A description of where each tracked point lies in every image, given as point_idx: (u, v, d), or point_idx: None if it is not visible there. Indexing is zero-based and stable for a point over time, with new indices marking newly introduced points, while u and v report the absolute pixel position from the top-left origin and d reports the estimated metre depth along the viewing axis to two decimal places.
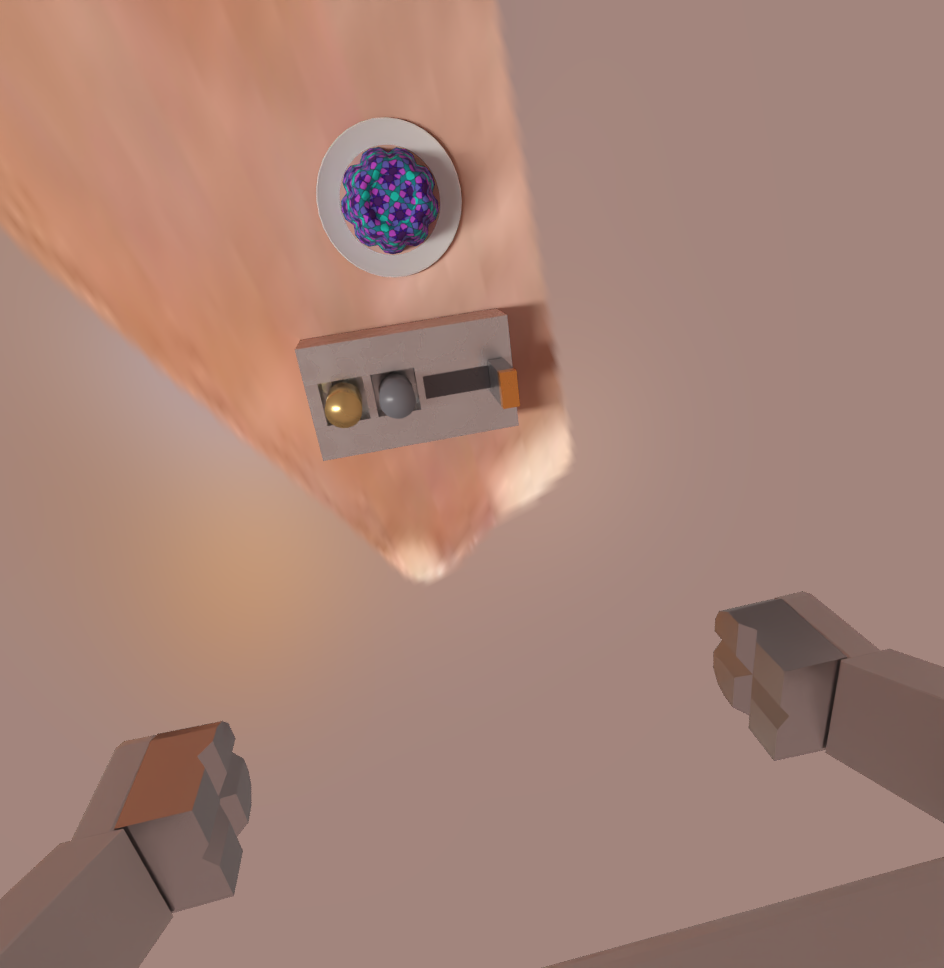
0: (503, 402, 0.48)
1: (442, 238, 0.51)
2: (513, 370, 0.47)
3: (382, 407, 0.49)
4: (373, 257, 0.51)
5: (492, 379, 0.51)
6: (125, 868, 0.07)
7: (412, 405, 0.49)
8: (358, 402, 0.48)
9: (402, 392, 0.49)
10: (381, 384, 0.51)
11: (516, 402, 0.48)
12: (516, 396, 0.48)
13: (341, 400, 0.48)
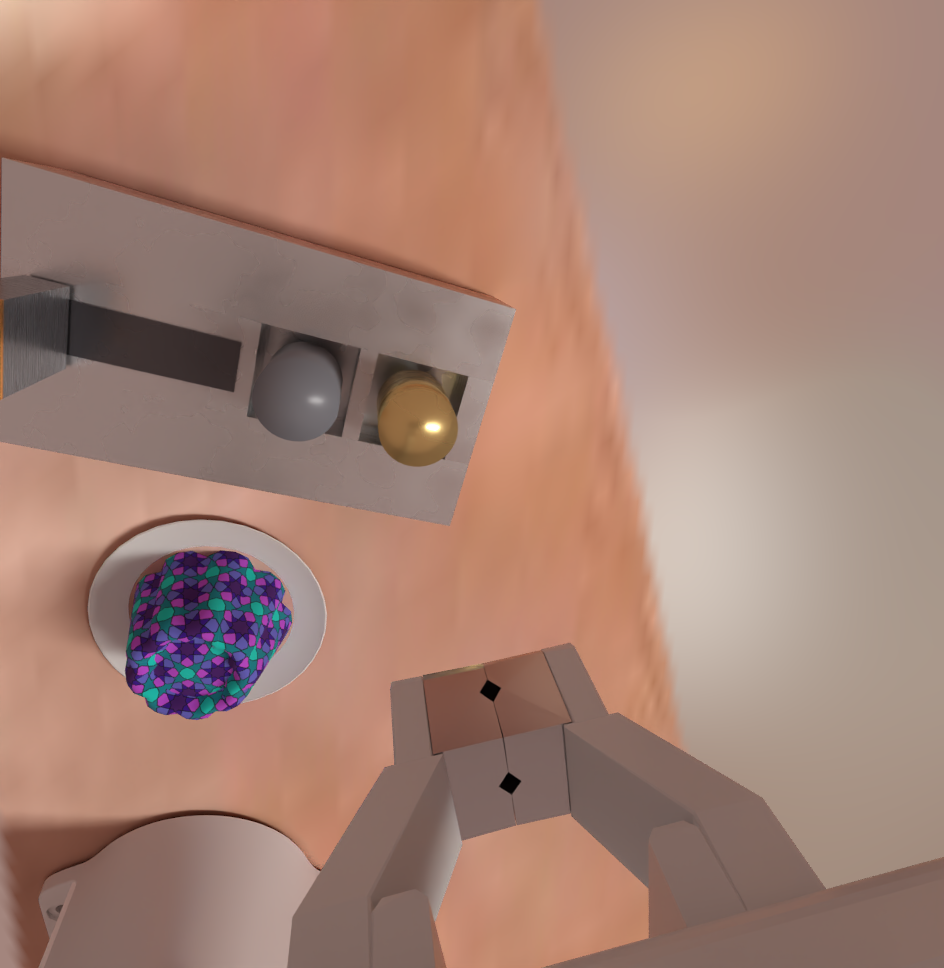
0: None
1: (139, 550, 0.30)
2: None
3: (335, 402, 0.21)
4: (269, 557, 0.31)
5: (48, 338, 0.20)
6: (442, 792, 0.08)
7: (265, 378, 0.21)
8: (381, 433, 0.22)
9: (278, 415, 0.21)
10: None
11: None
12: None
13: (412, 450, 0.23)
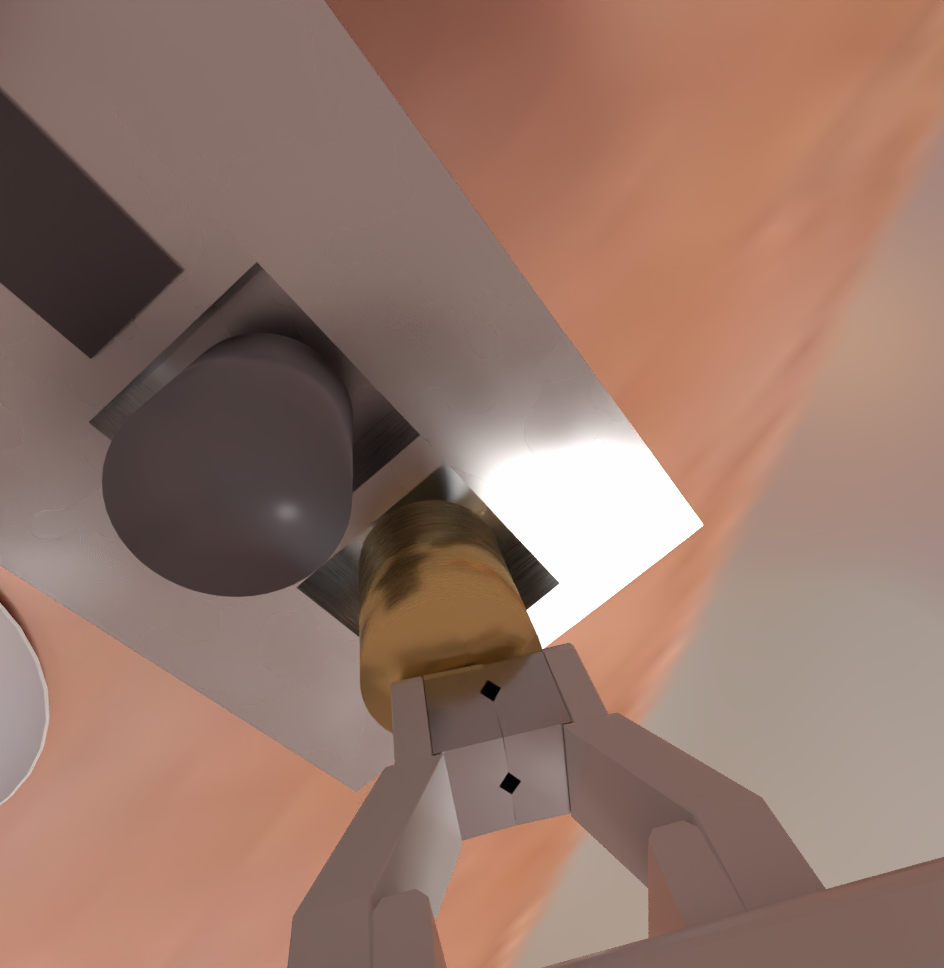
0: None
1: None
2: None
3: (325, 548, 0.08)
4: None
5: None
6: (443, 791, 0.08)
7: (191, 405, 0.07)
8: (376, 646, 0.09)
9: (163, 504, 0.07)
10: None
11: None
12: None
13: None
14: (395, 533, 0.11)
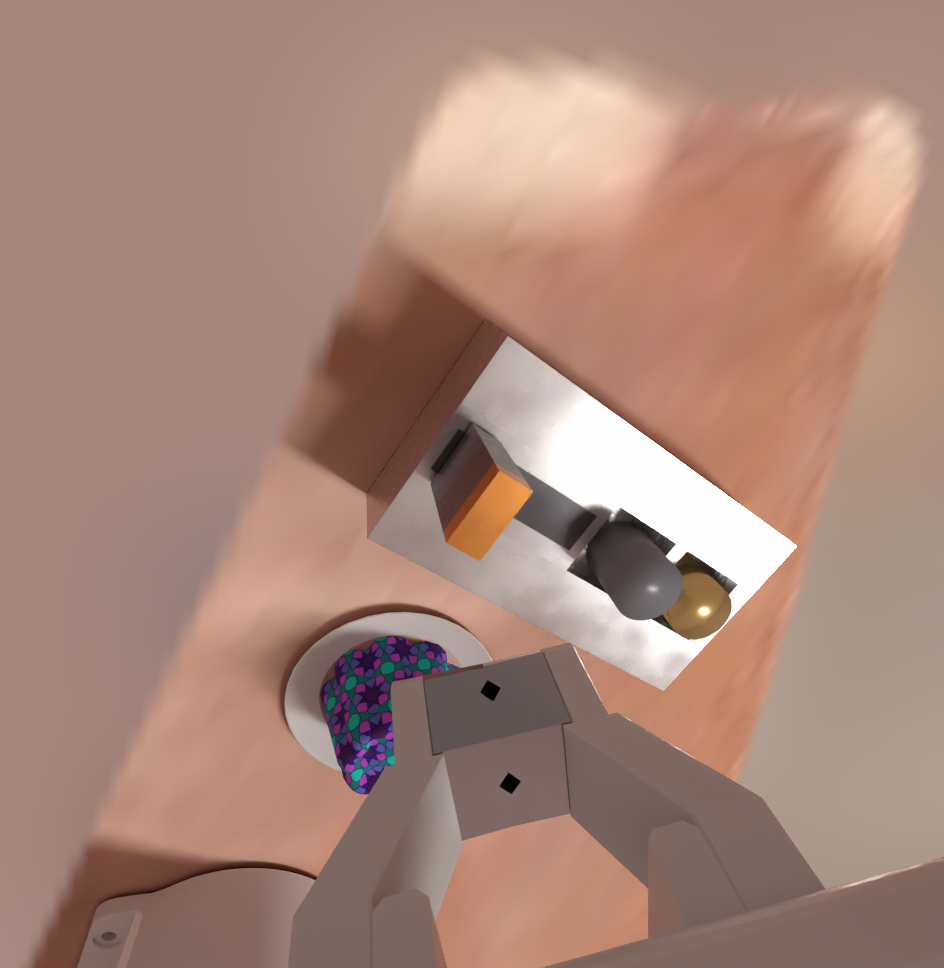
0: (521, 503, 0.19)
1: (359, 629, 0.32)
2: None
3: (675, 598, 0.25)
4: (464, 655, 0.34)
5: None
6: (443, 791, 0.08)
7: (638, 568, 0.24)
8: (676, 608, 0.27)
9: (630, 597, 0.25)
10: None
11: (499, 484, 0.19)
12: (488, 495, 0.19)
13: (689, 626, 0.28)
14: None
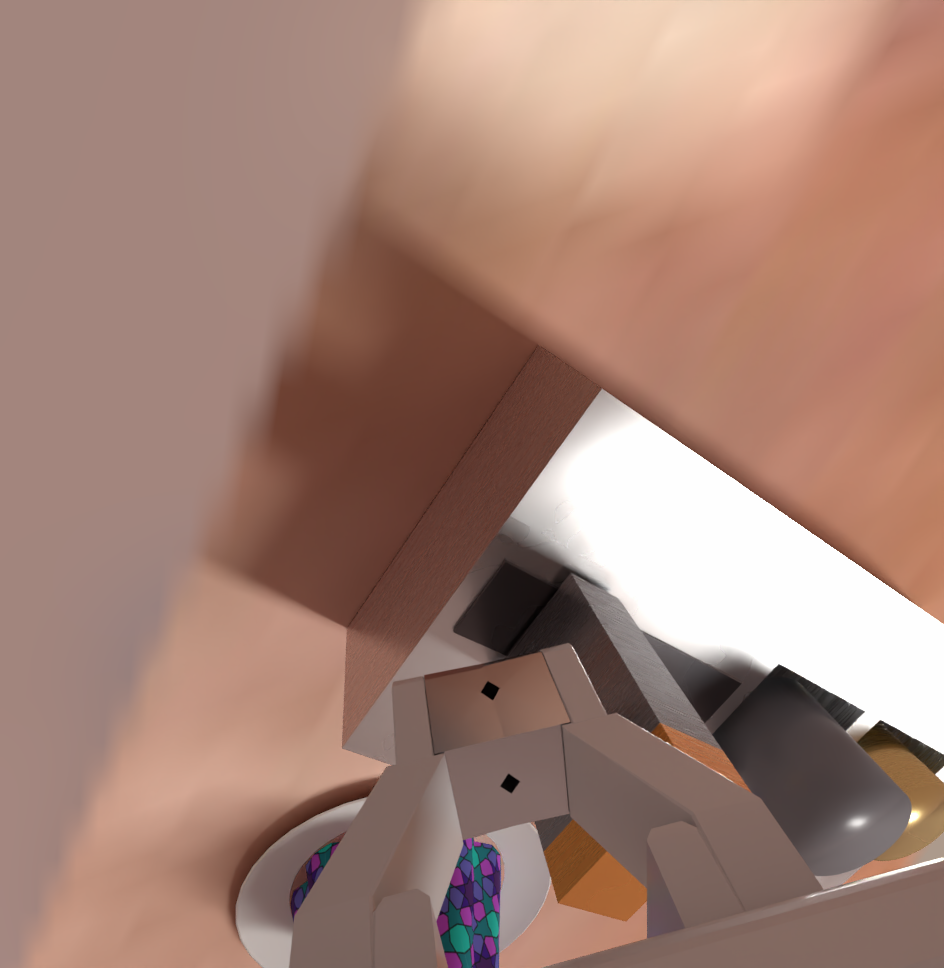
0: None
1: (336, 818, 0.21)
2: None
3: (894, 838, 0.14)
4: None
5: None
6: (444, 791, 0.08)
7: (839, 803, 0.13)
8: None
9: (818, 845, 0.14)
10: None
11: None
12: None
13: None
14: None
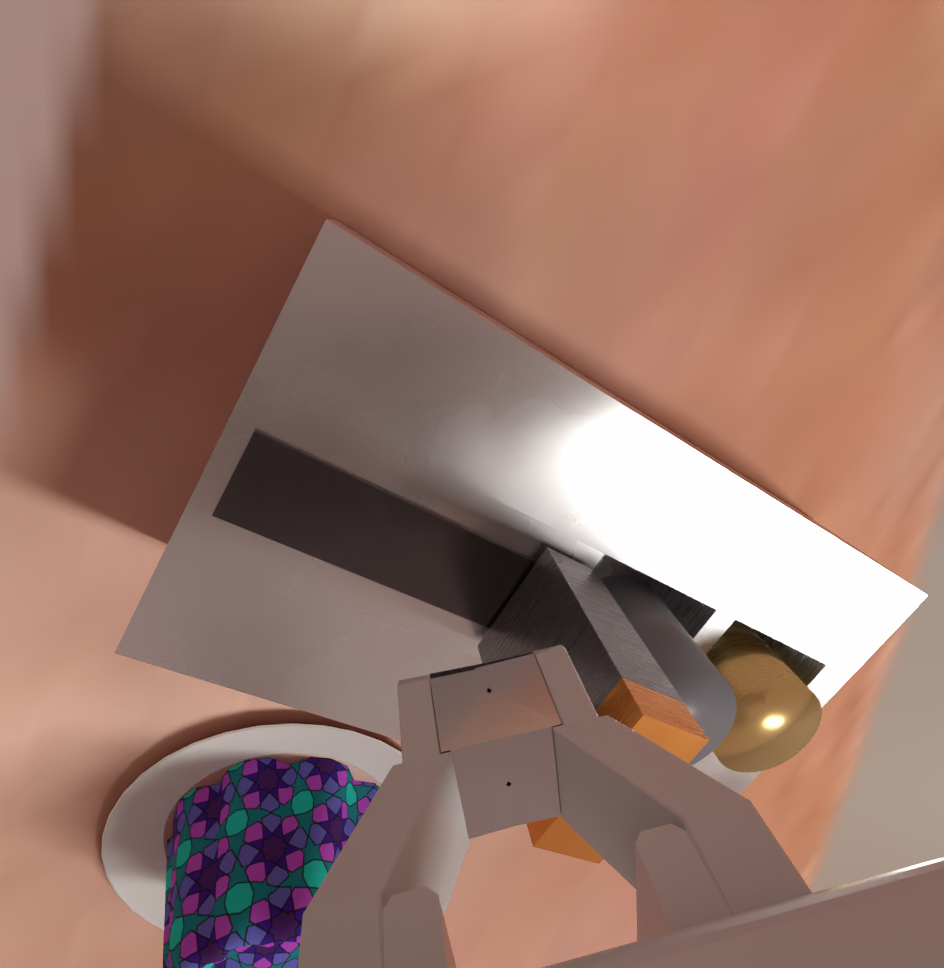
0: None
1: (192, 760, 0.20)
2: None
3: (722, 732, 0.13)
4: (377, 766, 0.21)
5: None
6: (450, 790, 0.08)
7: None
8: None
9: None
10: None
11: None
12: None
13: (746, 753, 0.16)
14: None
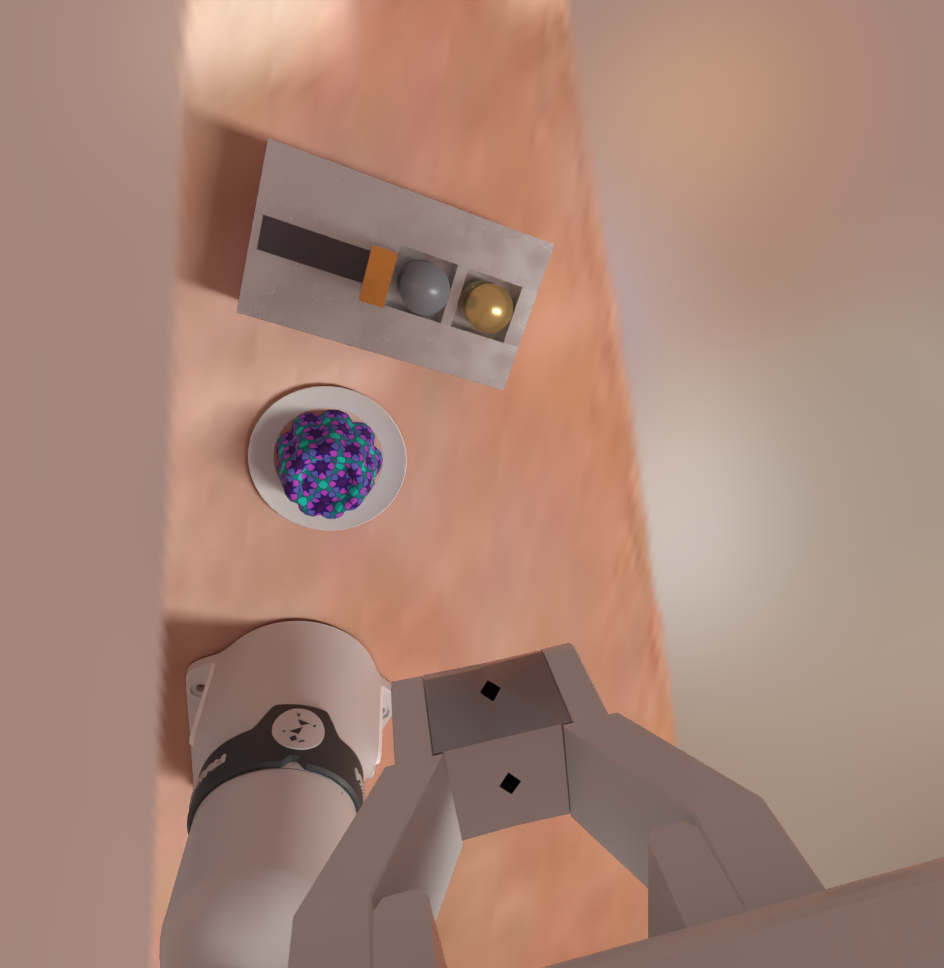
0: (393, 263, 0.32)
1: (276, 415, 0.44)
2: (362, 300, 0.33)
3: (447, 291, 0.36)
4: (361, 411, 0.45)
5: None
6: (443, 791, 0.08)
7: (409, 273, 0.35)
8: (468, 310, 0.38)
9: (413, 297, 0.35)
10: None
11: (375, 253, 0.32)
12: (372, 262, 0.32)
13: (485, 322, 0.38)
14: (464, 293, 0.40)
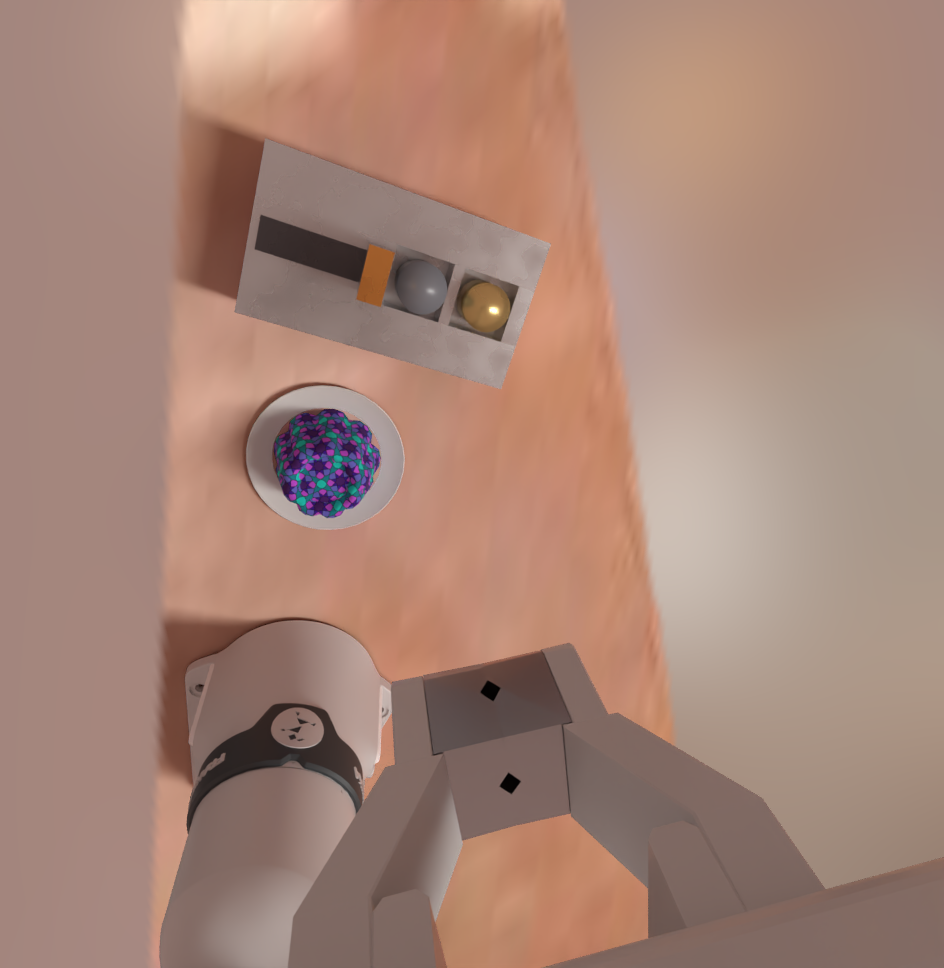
0: (390, 262, 0.32)
1: (272, 416, 0.44)
2: None
3: (444, 290, 0.36)
4: (357, 409, 0.45)
5: None
6: (443, 791, 0.08)
7: (406, 273, 0.35)
8: (465, 309, 0.38)
9: (411, 297, 0.36)
10: None
11: (372, 252, 0.32)
12: (369, 261, 0.32)
13: (482, 321, 0.38)
14: (461, 293, 0.40)
